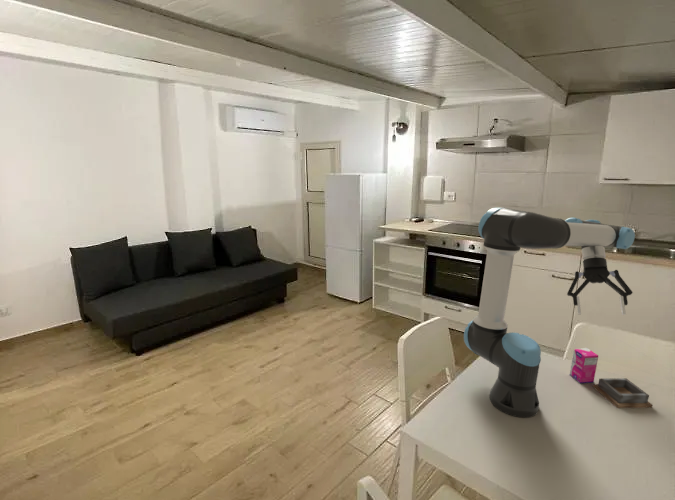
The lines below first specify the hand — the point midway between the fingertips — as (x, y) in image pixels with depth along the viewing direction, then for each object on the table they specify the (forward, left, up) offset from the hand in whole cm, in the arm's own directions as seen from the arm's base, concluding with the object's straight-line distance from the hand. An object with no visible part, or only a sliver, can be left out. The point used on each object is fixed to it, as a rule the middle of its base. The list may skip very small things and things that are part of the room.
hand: (601, 314), depth 140 cm
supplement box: (-5, -3, -25) cm, 26 cm away
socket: (+2, -14, -25) cm, 29 cm away
